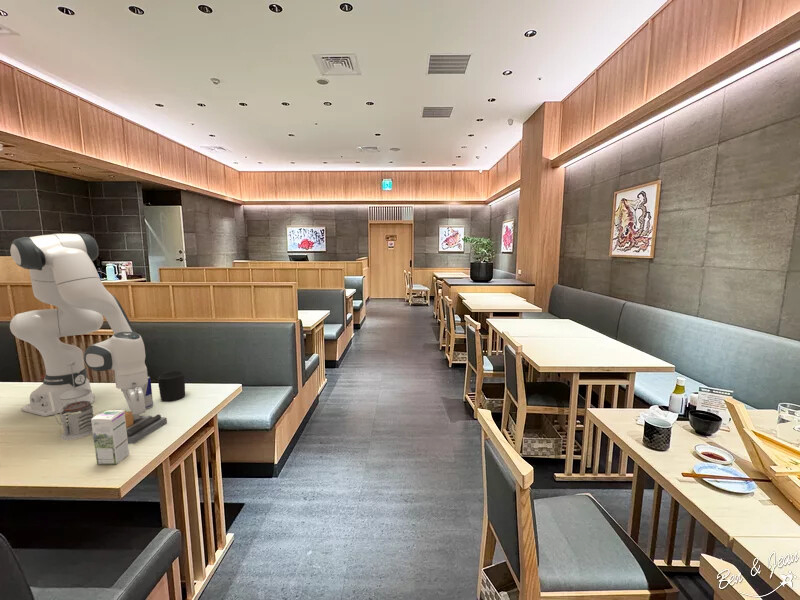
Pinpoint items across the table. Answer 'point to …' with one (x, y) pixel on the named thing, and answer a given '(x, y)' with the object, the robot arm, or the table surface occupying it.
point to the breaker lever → (128, 419)
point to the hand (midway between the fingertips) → (136, 417)
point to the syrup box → (110, 436)
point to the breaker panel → (146, 430)
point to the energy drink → (148, 394)
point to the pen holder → (172, 386)
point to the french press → (74, 427)
